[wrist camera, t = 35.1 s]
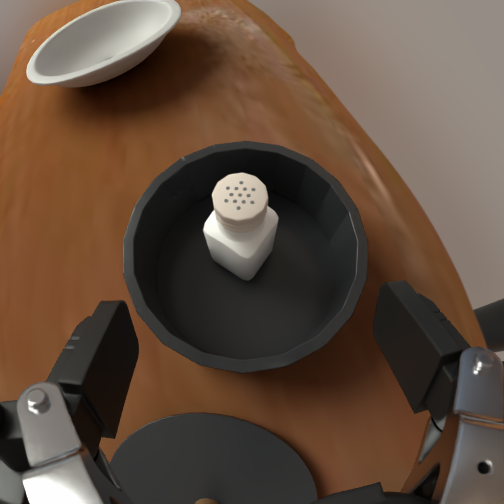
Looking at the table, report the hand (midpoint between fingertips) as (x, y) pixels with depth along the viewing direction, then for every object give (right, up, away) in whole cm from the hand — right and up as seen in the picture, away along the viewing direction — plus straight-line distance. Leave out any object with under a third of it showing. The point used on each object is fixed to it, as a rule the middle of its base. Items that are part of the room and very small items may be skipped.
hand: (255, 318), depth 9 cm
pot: (-1, +1, +17) cm, 17 cm away
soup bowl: (-22, +31, +28) cm, 47 cm away
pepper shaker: (-1, +2, +17) cm, 17 cm away
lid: (-4, -19, +9) cm, 21 cm away
